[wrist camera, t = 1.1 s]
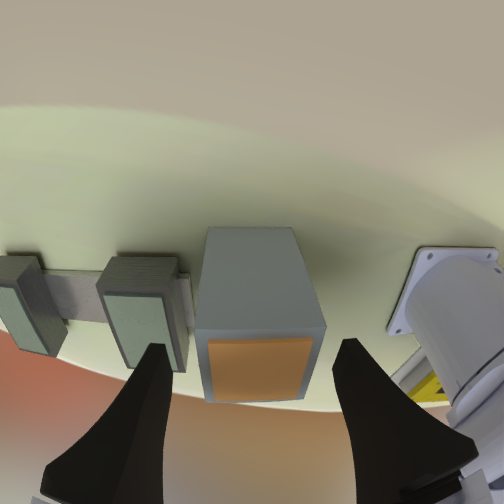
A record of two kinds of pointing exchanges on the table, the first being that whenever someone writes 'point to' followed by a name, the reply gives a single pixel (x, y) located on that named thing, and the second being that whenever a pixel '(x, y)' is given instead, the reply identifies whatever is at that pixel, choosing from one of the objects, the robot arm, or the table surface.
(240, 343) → the block
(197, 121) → the table surface
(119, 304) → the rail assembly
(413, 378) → the emergency button
